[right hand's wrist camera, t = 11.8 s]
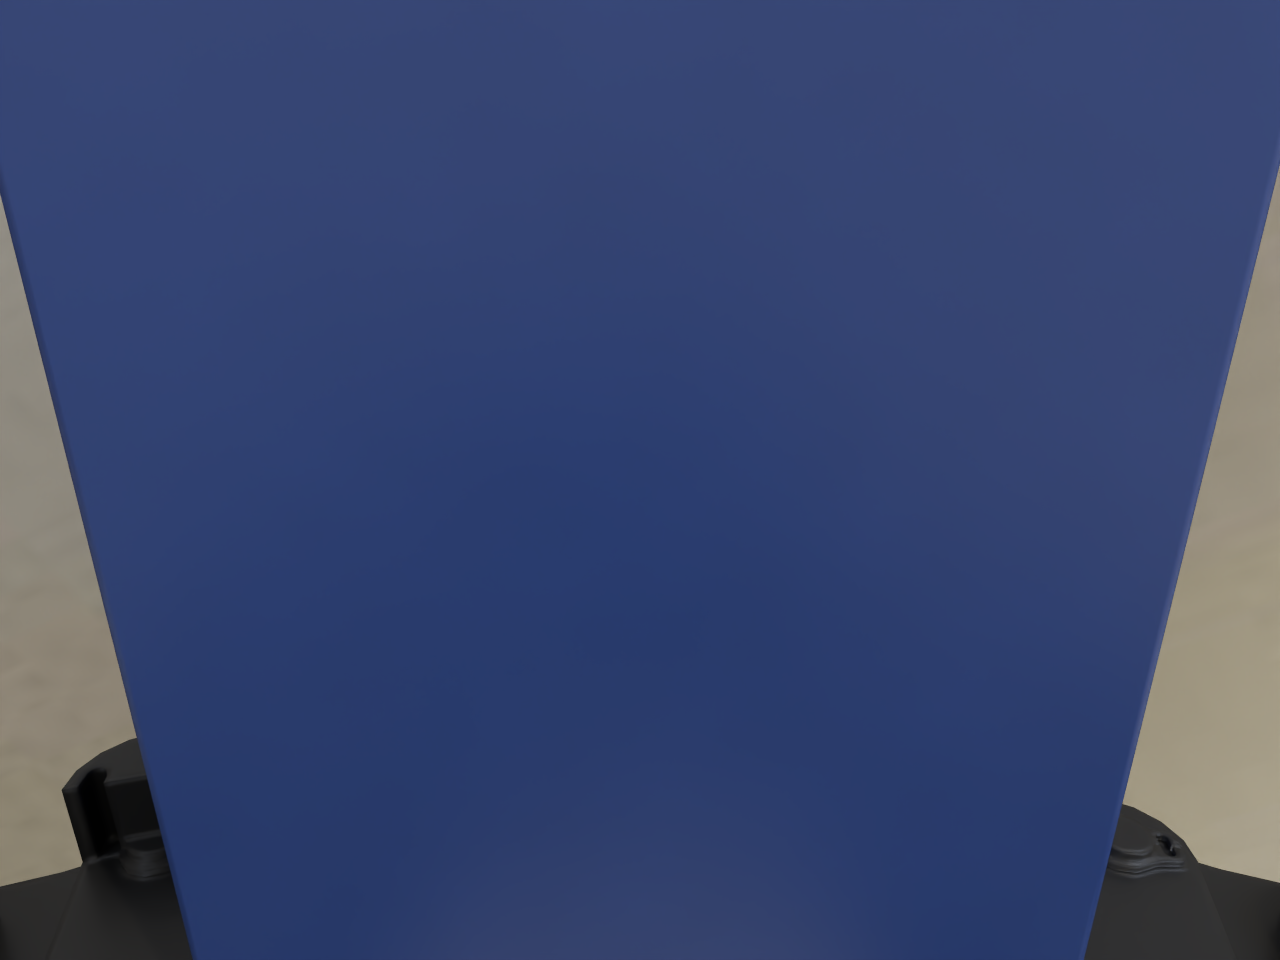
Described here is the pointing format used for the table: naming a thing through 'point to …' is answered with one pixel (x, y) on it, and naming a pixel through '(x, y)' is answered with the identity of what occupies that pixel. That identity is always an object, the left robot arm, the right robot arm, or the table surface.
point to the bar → (637, 449)
